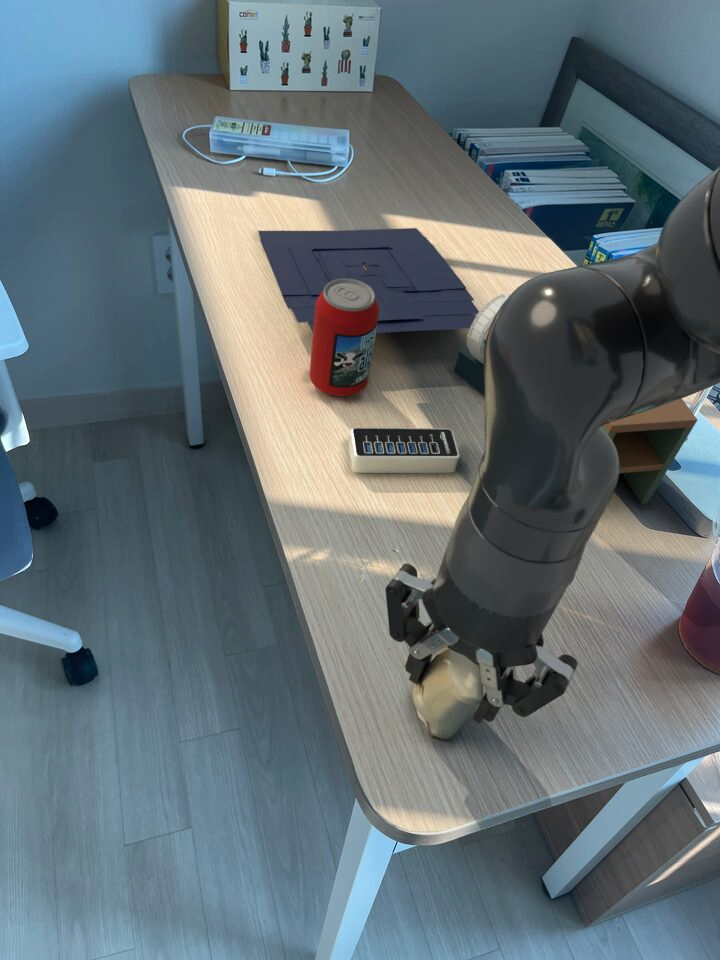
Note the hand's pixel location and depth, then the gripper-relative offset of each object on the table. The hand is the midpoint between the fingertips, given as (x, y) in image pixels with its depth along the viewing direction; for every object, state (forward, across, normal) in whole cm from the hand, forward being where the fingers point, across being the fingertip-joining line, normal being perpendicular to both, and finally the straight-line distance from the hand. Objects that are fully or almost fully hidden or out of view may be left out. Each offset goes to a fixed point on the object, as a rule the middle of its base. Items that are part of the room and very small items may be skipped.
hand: (449, 692), depth 58 cm
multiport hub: (+4, -17, +23) cm, 29 cm away
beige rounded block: (+4, 0, 0) cm, 4 cm away
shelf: (+3, 0, +34) cm, 35 cm away
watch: (+4, -16, +41) cm, 44 cm away
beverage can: (+4, -29, +29) cm, 41 cm away
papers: (+4, -36, +47) cm, 60 cm away
